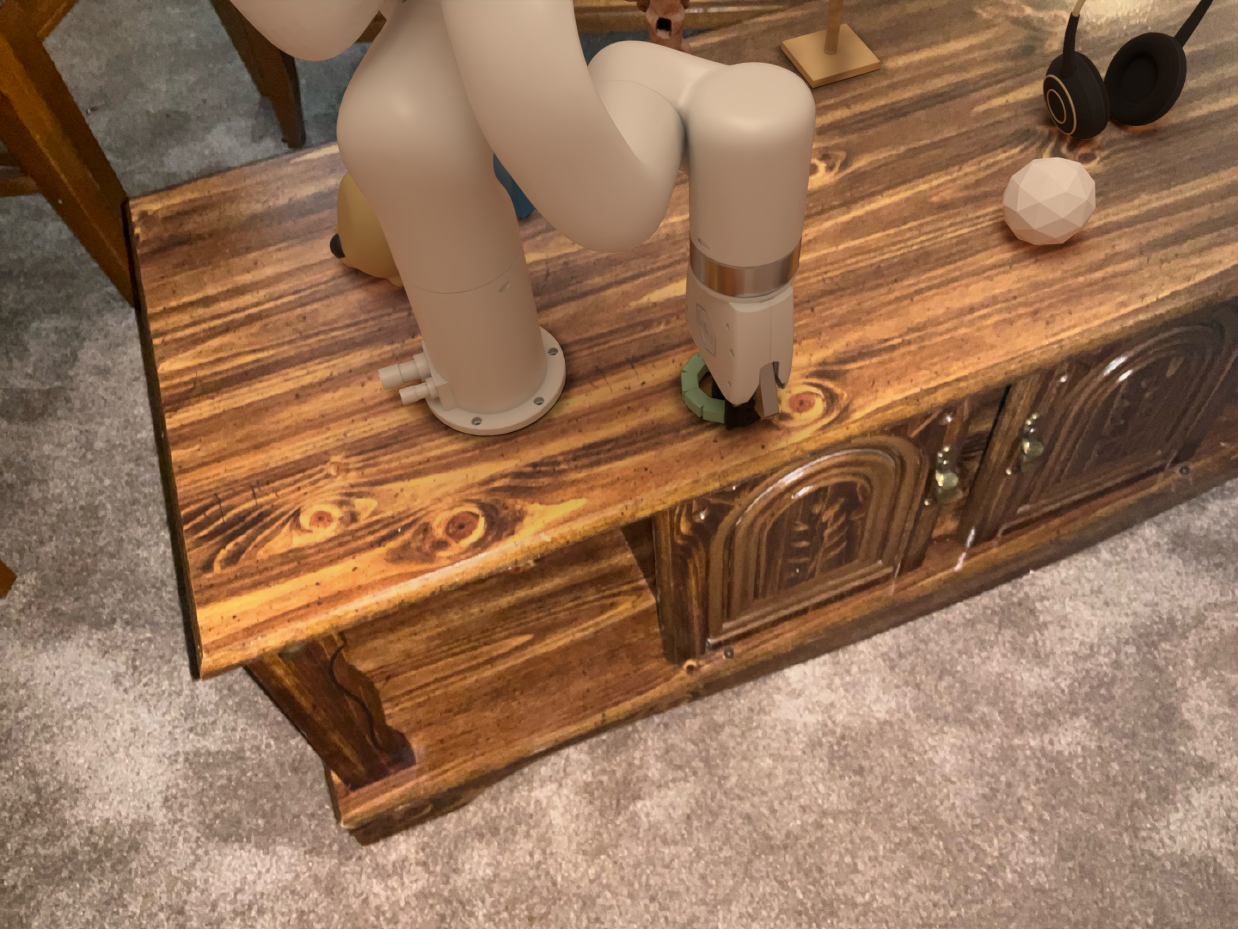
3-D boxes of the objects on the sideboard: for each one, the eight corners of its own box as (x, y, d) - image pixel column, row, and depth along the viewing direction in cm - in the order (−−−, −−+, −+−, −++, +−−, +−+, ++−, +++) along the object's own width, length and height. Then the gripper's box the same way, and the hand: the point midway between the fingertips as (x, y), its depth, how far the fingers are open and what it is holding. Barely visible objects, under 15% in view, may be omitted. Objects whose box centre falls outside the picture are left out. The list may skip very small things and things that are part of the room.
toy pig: (434, 257, 99) (359, 175, 96) (480, 215, 88) (398, 122, 86) (369, 317, 94) (288, 233, 91) (409, 280, 84) (320, 184, 81)
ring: (781, 406, 81) (783, 396, 79) (699, 434, 80) (699, 424, 78) (746, 346, 84) (747, 335, 83) (668, 371, 83) (667, 361, 82)
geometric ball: (1004, 254, 92) (970, 187, 88) (1073, 201, 91) (1042, 131, 88) (1053, 273, 85) (1019, 201, 82) (1129, 216, 85) (1097, 140, 81)
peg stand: (812, 88, 104) (823, -10, 95) (780, 49, 108) (788, -49, 99) (879, 69, 105) (896, -30, 96) (845, 30, 109) (858, -67, 100)
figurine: (721, 109, 103) (725, -82, 86) (704, 159, 99) (705, -32, 82) (627, 99, 105) (613, -90, 89) (606, 147, 101) (587, -42, 84)
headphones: (1007, 115, 99) (1069, -84, 83) (1138, 84, 100) (1224, -118, 84) (1050, 167, 94) (1125, -33, 78) (1186, 133, 96) (1288, -71, 79)
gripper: (651, 191, 69) (660, 357, 84) (740, 346, 60) (732, 500, 76) (747, 163, 70) (739, 332, 85) (849, 311, 61) (819, 469, 77)
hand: (736, 410), depth 80 cm, fingers closed on ring
